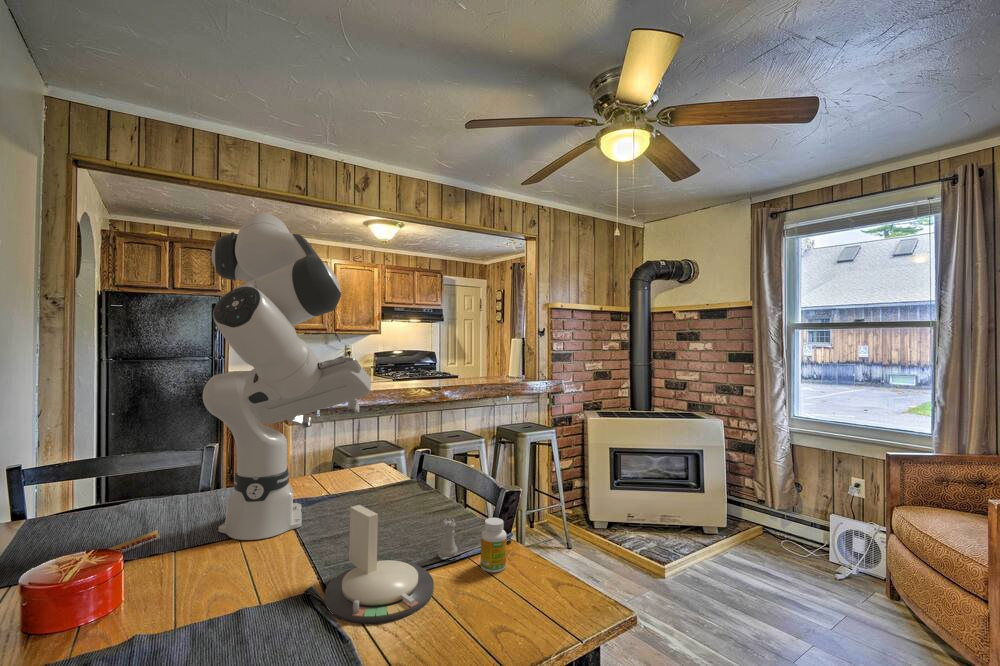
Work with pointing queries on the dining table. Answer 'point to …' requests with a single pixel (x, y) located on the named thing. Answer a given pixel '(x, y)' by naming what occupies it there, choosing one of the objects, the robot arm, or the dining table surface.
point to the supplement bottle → (493, 546)
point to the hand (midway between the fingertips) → (332, 417)
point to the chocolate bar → (136, 541)
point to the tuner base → (377, 613)
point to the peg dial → (374, 566)
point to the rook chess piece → (448, 539)
